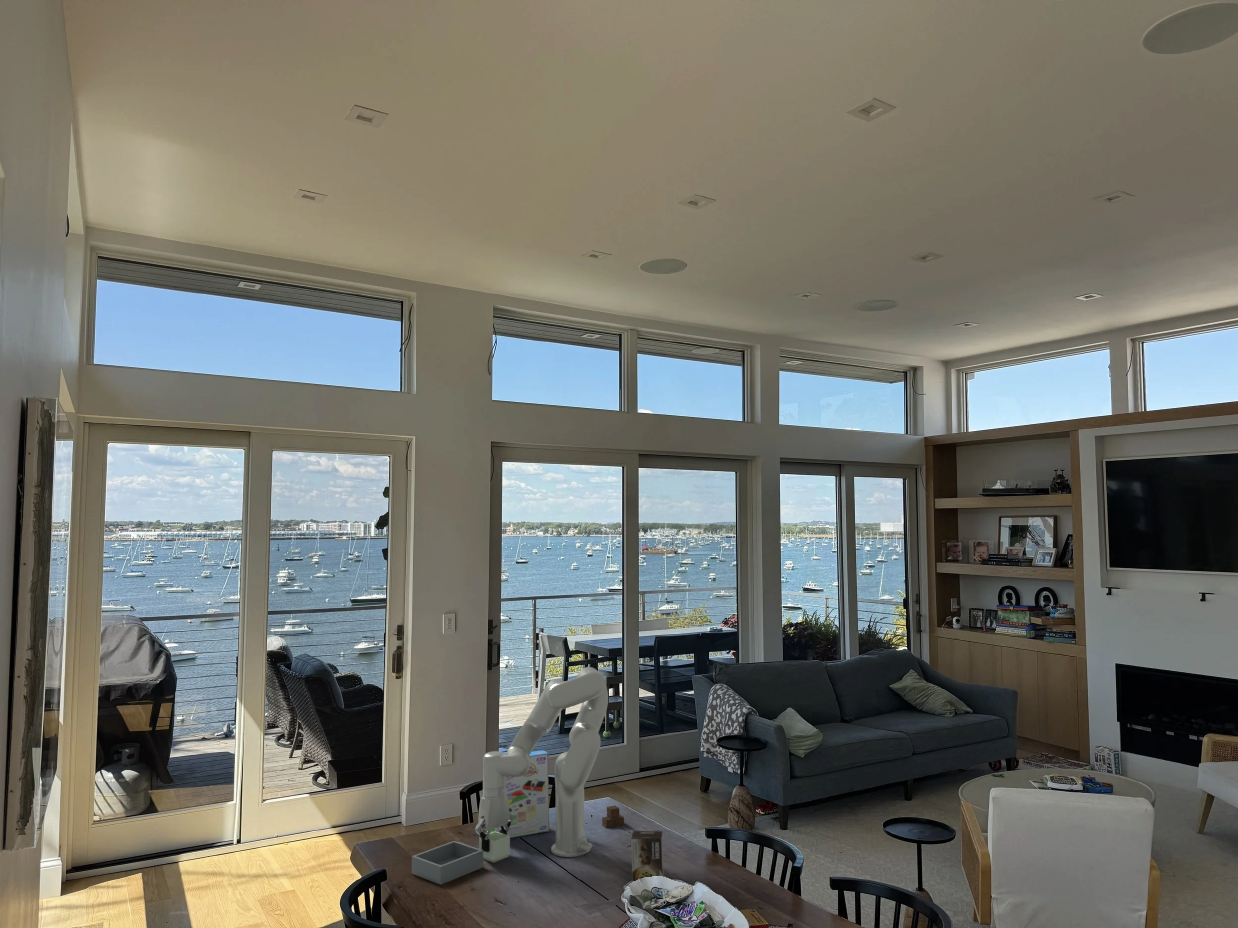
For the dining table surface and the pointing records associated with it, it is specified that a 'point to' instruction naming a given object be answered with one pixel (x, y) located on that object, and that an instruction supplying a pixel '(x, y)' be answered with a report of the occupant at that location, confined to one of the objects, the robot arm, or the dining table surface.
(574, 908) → the dining table surface
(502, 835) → the small crate
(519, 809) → the game box
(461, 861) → the big crate
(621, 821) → the stack of crates
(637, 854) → the food package box
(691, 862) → the dining table surface
